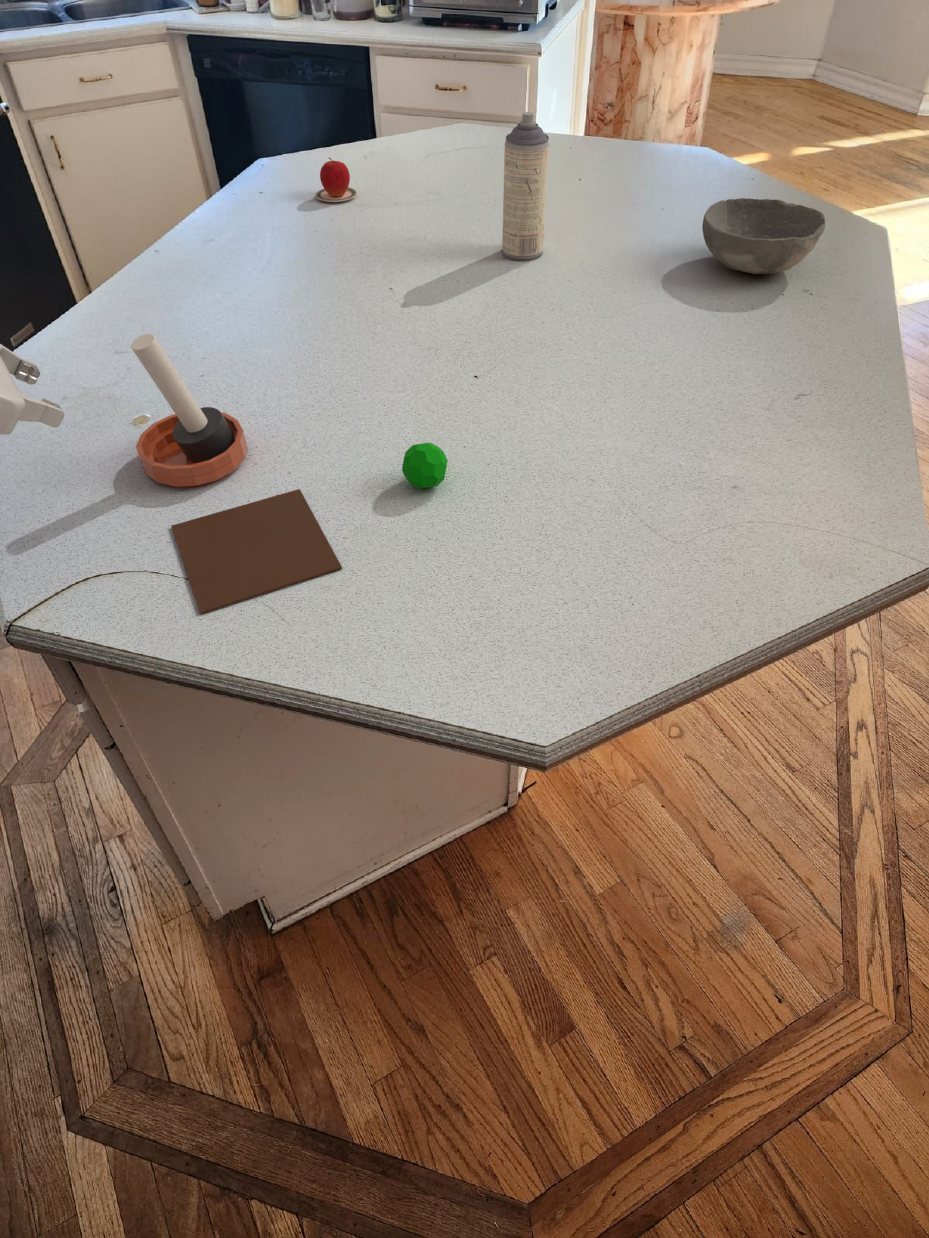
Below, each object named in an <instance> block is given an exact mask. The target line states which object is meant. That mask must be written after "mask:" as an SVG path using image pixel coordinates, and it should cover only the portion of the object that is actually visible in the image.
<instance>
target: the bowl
mask: <svg viewBox="0 0 929 1238" xmlns="http://www.w3.org/2000/svg"><path fill="white" fill-rule="evenodd" d="M701 228H702V236H703V240H704V243H705V245H706V248H707V249H708V250H709V252H710V253H711V254H712V255H713V257H714V258H715V259H716V260H717V261H718V262H719V263H721V264H722V265H723V266H725V267H726V268H727V269H730V270H732V271H739V272H743V273H748V274H753V275H770V274H772V275H773V274H778V273H782V272H786V271H789V270H790V269H792V268H794V267H795V266H796V265H798V264H799V263H801V262H802V261H803V260H804V259H805V258H806V257H807V256H808V255H809V254H810V253H811V252H812V251H813V250H814V249H815V247H816V246H817V244H818V241H819V239H820V238H821V236H822V234H823V233H824V231H825V229H826V218H825V214H824V213H823V212H821V211H820V210H818V209H816V208H813V207H807V206H805V205H802V204H795V203H791V202H790V203H789V202H786V201H784V200H781V199H769V198H764V199H763V198H762V199H761V198H760V199H759V198H746V197H741V198H728V199H726V200H724V199H722V200H720V201H717V202H715V203H713V204H711V205H710V206H709V207H708V208H707V210H706V211H705V213H704V215H703V219H702V227H701Z"/></svg>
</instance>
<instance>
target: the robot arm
mask: <svg viewBox="0 0 929 1238" xmlns="http://www.w3.org/2000/svg"><path fill="white" fill-rule="evenodd" d="M40 376H41V371H40V369H39V367H38V366H37V365H36V363H34V362H32V361H29V360H28V359H25V358H24V357H21V356H19V355H18V354H16V353H15V352H13V351H12V350H10V349H9V348H7V347H6V346H4V345H3V344H1V343H0V435H3V436H4V435H10V434H12V433H13V431H14V430H15V428H16V426H17V425H18V422H19V421H20V422H31V423H32V422H33V423H41V424H44V425H46V426H49V427H52V428H58V427H59V426H60V425H61V423H62V422H63V421H64V418H65V412H64V410H63V409H62V407H61V406H60V405H59V404H58V403H56V402H52V401H51V400H48V399H45V398H42V399H40V400H39V399H35V398H32V397H29V395H28V394H27V393H25V392H22V391H20V390H19V388H18V386H17V385H16V382H15V380H14V379H13V377H14V378H15V379H16V380H19V381H21V382H23V383H26V384H29V385H31V386H32V385H35V384H37V381H38V378H39V377H40Z"/></svg>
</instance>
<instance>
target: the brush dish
mask: <svg viewBox="0 0 929 1238" xmlns="http://www.w3.org/2000/svg"><path fill="white" fill-rule="evenodd" d="M220 412H221V411H220ZM221 413H222V415H223V417H224V418H225V420H226V422H227V423H228V425H229V427H230V428H231V430H232V432H233V434H234V440H233V443H232V445H231V446H230V447H229V448H228V449H227V450H226V451H225V452H223V453H222V454H220V455H218V456H216V457H214V458H212V459H210V460H207V461H203V462H200V463H195V462H192V461H190V460H189V459H188V458H187V457H186V456H185V454H184V453H183V451H182V450H181V449H180V447H179V446H178V444H177V443H176V441H175V440H174V438H173V434H172V433H173V429H174V426H175V425H176V423H177V422H178V421H179V418H178V417H177V415H176V414H175V413H174V414H170V415H168V416H166V417H164V418H161V419H159V420H157V421H155V422H153V423H152V424H150V426H148V428H146V429H144V431H143V432H142V433H141V434H140V435H139V437H138V440H137V442H136V444H135V448H136V451H137V453H138V457H139V460H140V462H141V465H142V467H143V470H144V472H145V473H144V474H145V475H147V476H148V477H149V478H151V479H152V480H153V481H155V482H156V483H158V484H163V485H167V486H171V487H175V488H177V487H196V486H202V485H206V484H209V483H213V482H215V481H219V480H220V479H222V478H224V477H225V476H227V475H229V474H230V473H232V472H234V471H235V470H236V469H237V468H238V467H239V466H240V465H241V463H243V462H244V461H245V459H246V455H247V451H248V444H247V440H246V437H245V432H244V429H243V428H242V425H241V424H240V422H239V419H237V418H235V417H233V416H231V415H230V414H228V413H226V412H223V411H222V412H221Z"/></svg>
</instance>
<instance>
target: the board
mask: <svg viewBox="0 0 929 1238" xmlns="http://www.w3.org/2000/svg"><path fill="white" fill-rule="evenodd" d="M170 527H171V530H172V532H173V535H174V539H175V542H176V545H177V548H178V551H179V553H180V557H181V560H182V563H183V566H184V569H185V572H186V575H187V578H188V581H189V584H190V587H191V589H192V592H193V593H192V594H193V595H194V599H195V602H196V605H197V608H198V611H199V614H200V615H204V614H208V613H210V612H214V611H217V610H219V609H223V608H226V607H229V606H232V605H235V604H238V603H241V602H244V601H248V600H250V599H253V598H257V597H260V596H263V595H265V594H266V595H267V594H269V593H272V592H276V591H278V590H281V589H285V588H287V587H290V586H294V585H296V584H300V583H303V582H306V581H309V580H312V579H315V578H318V577H322V576H325V575H327V574H328V575H329V574H331V573H334V572H337V571H340V570H343V567H342V565H341V563H340V561H339V559H338V557H337V555H336V553H335V552H334V550H333V547H332V546H331V544H330V543H329V541H328V538H327V537H326V535H325V533H324V531H323V530H322V528H321V525H320V524H319V522H318V519H316V517H315V515H314V513H313V511H312V509H311V507H310V505H309V503H308V501H307V500H306V497H305V496H304V494H303V491H301V489H300V488H298V489H294V490H290V491H288V492H283V493H281V494H277V495H273V496H270V497H267V498H263V499H259V500H256V501H252V502H249V503H246V504H245V503H244V504H241V505H238V506H235V507H231V508H228V509H224V510H221V511H217V512H215V513H214V512H213V513H211V514H207V515H204V516H200V517H196V518H192V519H189V520H186V521H182V522H179V523H175V524H171V525H170Z"/></svg>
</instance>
